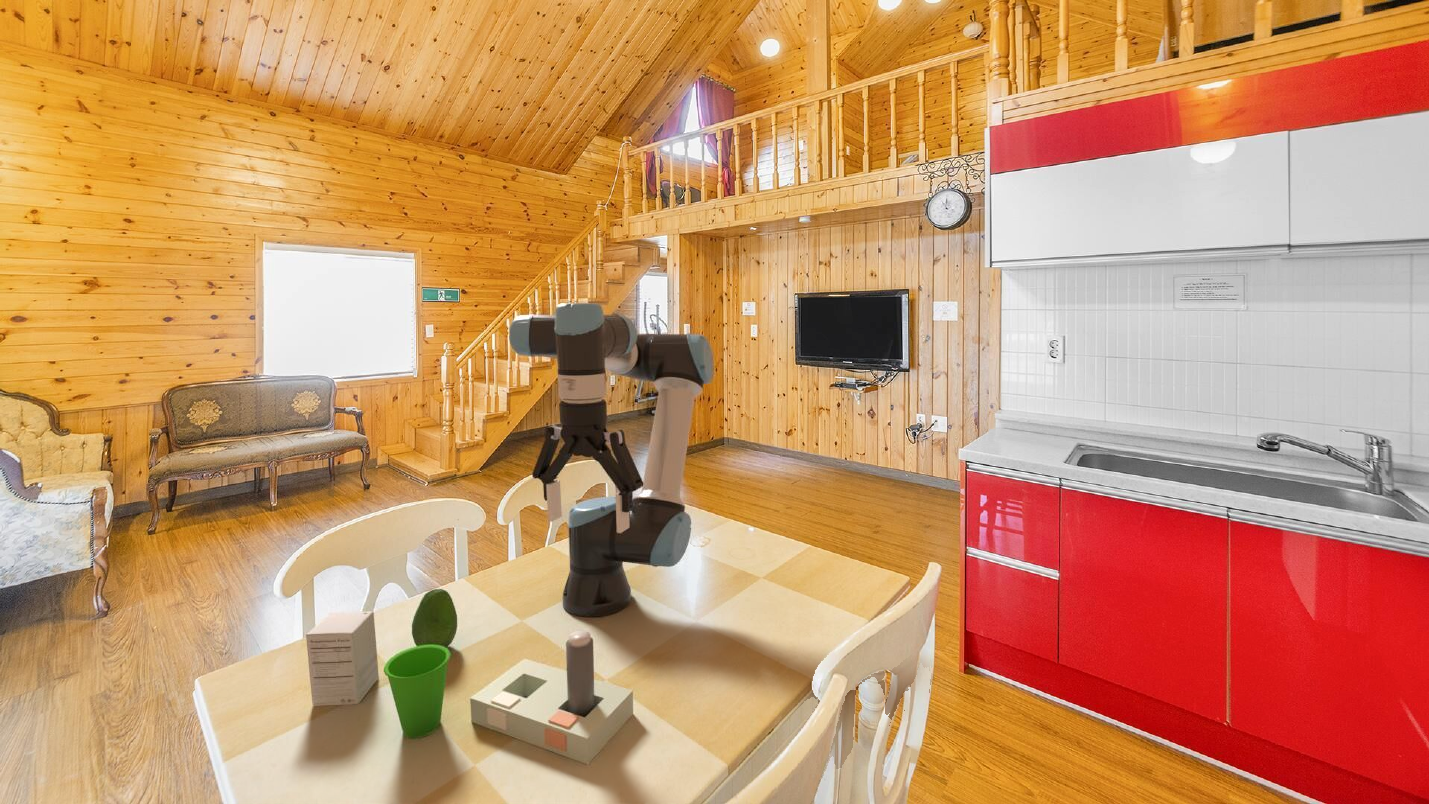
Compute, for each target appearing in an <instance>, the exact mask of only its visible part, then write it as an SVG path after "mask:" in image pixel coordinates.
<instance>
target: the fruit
mask: <svg viewBox="0 0 1429 804" xmlns="http://www.w3.org/2000/svg"><path fill="white" fill-rule="evenodd" d="M457 631H458V614H457V610H456V607H455V603H454V602H453V598H452V596H451V595H450V593H449V592H448V591H447V590H445V589H443V588H435V589H431V590H429V591H428V592H426V593H425V594H424V595H423V596H422V598H421V601H420V602H419V605H418V606H417V609H416V611H415V614H414V615H413V620H412V623H411V635H412V636H411V637H412V639H413V642H414V645H415V647H416V646H422V645H440V646H444V647H445V648H447V649H448V647H449V646H450V645H451V644H452V643H453V641H454V639H455V637H456V633H457Z"/></svg>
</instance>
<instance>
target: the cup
mask: <svg viewBox="0 0 1429 804" xmlns="http://www.w3.org/2000/svg"><path fill="white" fill-rule="evenodd" d="M450 659H451V652H450V650H449V649H448V647H447V648H445V647H444V646H440V645H422V646H416V645H415V646H413V647H410V648H407V649H405V650H402V651H400V652H398V653H396V654H395V655H393V656H391V657H390V658H389V659H388V661H387V662H386V663H385V665H384V667H383V672H384V675H385V676H387V679H388V682H389V687H390V690H391V693H392V697H393V701H394V705H395V709H396V711H397V716H398V719H399V723H400V726H401V730H402V732H403V734H404V736H406V737H407V738H411V739H418V738H423V737H425V736H428V735H430V734H432V733H434V731H436V730H437V729H438V727H439V725H440V723H441V720H442V714H443V713H442V712H443V704H444V695H445V689H446V688H445V687H446V680H447V678H446V677H447V670H448V662H449V661H450Z"/></svg>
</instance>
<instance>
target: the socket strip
mask: <svg viewBox="0 0 1429 804" xmlns="http://www.w3.org/2000/svg"><path fill="white" fill-rule="evenodd" d="M469 700H470V716H471V718H470V719H471V723H474V724H476V725H479V726H482V727H485V728H487V729H490V730H493V731H495V732H499V733H500V734H504V735H506V736H509V737H512V738H514V739H517V740H519V741H523V742H525V743H529V744H530V745H533V746H536V747H539V748H541V749H543V750H547V751H550V752H553V753H556V754H558V755H562V756H564V757H567V758H569V759H572V760H575V761H577V762H580V763H582V764H585V765H589V764H590V763H591V762H592V761H593V760H594V759H595V757H596V756H597V755H598V754H599V753H600V752H601V751H602V749H604V747H606V745H607V744H608V743H609V742H610V740H611V739H612V738H613V737H614V735H616V734H617V733H618V731H620V729H621V728H622V727H623V726H624V725H625V724H626V722H627V721H628V720H629V719H630V718H631V717H632V716H633V715H634V690H632V689H628V688H625V687H622V686H619V685H615V684H612V683H609V682H605V681H602V680H598V679H595V678H594V701H595V708H594V709H593V710H592V711H591V712H590V713H589V714H588V715H587V716H586V717H581V716H578V715H575V714H572V713H569V712H568V696H567V670H565V669H562V668H558V667H554V666H550V665H548V664H545V663H540V662H539V661H535V660H531V659H527V658H523V659H522V660H520V661H519V662H517V663H516V664H514V665H513V666H512V667H511V668H509V669H508V670H507V671H506V672H504V673H503V674H501V675H500V676H498V677H497V678H496V679H494V680H493V681H492V682H489V683H488V684H487V685H486V686H485V687H483V688H482V689H481V690H479V691H478V692H476V693H475V694H474V695H472V696H471V697H470V698H469Z"/></svg>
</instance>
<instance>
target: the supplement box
mask: <svg viewBox="0 0 1429 804" xmlns="http://www.w3.org/2000/svg"><path fill="white" fill-rule="evenodd" d="M374 613H375V612H374V611H371V610H370V611H346V612H342V611H341V612H331V613H329V614H327V616H325V617H324V618H323V619H322V620H321V621H320V622H319V623H318V624H316V625H315V626H313V628H311V629H310V630H309V631H308V632H307V633H306V634H305V638H306V649H307V650H306V651H307V658H308V670H309V672H308V673H309V680H310V681H309V683H310V692H311V702H312V707H313V706H314V707H322V706H324V707H325V706H343V705H357V704H360V703H361V701H362V700H363V698H365V696H366V695H367V694H368V692H369V691H370V689H372V687H373V686H374V684H375V683H376V682H377V681H378V680H379V679H380V676H379V663H378V649H377V638H376V637H377V636H376V627H375V624H376V623H375V614H374Z"/></svg>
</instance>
